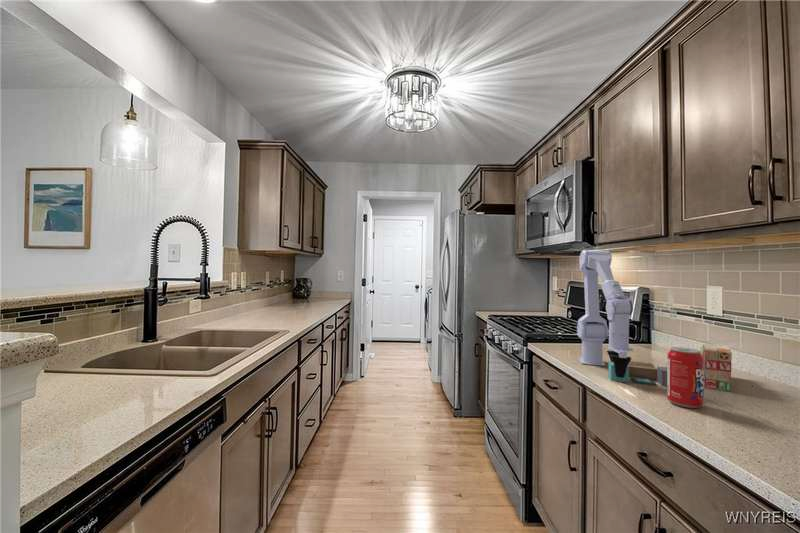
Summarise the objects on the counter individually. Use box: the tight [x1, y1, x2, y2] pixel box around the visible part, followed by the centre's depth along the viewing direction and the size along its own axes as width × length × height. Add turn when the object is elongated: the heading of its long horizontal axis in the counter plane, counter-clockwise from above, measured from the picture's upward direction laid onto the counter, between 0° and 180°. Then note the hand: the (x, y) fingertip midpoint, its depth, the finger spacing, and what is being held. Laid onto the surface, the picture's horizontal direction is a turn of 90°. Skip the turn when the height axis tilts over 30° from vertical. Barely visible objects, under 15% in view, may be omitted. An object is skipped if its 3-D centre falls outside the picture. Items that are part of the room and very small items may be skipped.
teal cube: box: [608, 361, 630, 383], centre depth 121 cm, size 5×5×5 cm
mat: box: [629, 377, 658, 387], centre depth 118 cm, size 6×6×1 cm
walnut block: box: [628, 360, 657, 382], centre depth 126 cm, size 9×9×4 cm
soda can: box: [666, 346, 705, 409], centre depth 99 cm, size 8×8×15 cm
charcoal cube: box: [656, 366, 667, 387], centre depth 116 cm, size 5×5×5 cm
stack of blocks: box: [700, 342, 733, 393], centre depth 120 cm, size 21×6×12 cm, turn 143°
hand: (618, 374), depth 121 cm, fingers closed on teal cube, 5 cm apart
